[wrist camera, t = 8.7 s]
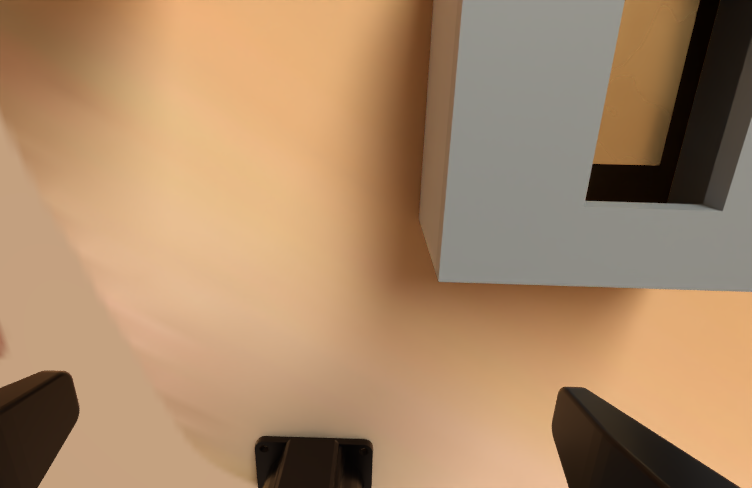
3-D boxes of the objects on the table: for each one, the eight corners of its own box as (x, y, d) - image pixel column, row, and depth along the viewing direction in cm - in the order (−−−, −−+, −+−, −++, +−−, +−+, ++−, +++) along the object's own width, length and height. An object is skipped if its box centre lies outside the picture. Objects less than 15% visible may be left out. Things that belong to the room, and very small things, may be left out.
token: (588, 147, 19) (659, 165, 14) (531, 145, 19) (582, 163, 14) (612, 19, 17) (702, -9, 12) (549, 18, 17) (614, -12, 12)
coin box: (677, 227, 20) (828, 294, 13) (418, 219, 20) (438, 281, 13) (763, -83, 16) (1041, -213, 9) (439, -94, 16) (482, -231, 9)
